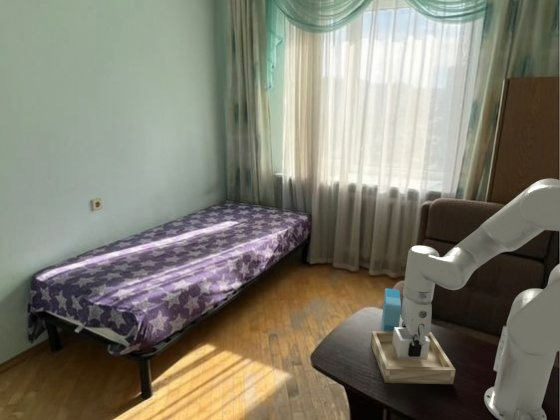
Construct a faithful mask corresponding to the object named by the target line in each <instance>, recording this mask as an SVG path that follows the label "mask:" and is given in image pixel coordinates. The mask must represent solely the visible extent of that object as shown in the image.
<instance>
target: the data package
mask: <svg viewBox="0 0 560 420" xmlns="http://www.w3.org/2000/svg"><path fill="white" fill-rule="evenodd" d="M401 308H402V302H401V292H400V289H395V288H386V287H385V289H384V297H383V307H382V315H381V317H382V319H381V322H382V323H381V325H382V327H381V328H382V329H381V330H382V331H394V327H400V322H401V321H400V320H401Z"/></svg>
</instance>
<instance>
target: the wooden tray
mask: <svg viewBox="0 0 560 420" xmlns="http://www.w3.org/2000/svg"><path fill="white" fill-rule="evenodd" d="M393 332H394V331H381V330H372V331H371V336H370V337H371V339H370V346H371V348H372V350H373V351H372V352H373V354H374V356H375V357H374V358H375V360H376V363H377V365H378V369H379V370H380V373H381V374H380V375H381V376H382V379H383V382H384V384H422V385H424V384H425V385H426V384H427V385H428V384H430V385H433V384H434V385H453V384H454V381H455V375H456V368H455V367H454V365H453V364H452V362H451V360H450V359H449V358H448V356H447V355H446V353H445V351H444V350H443V348H442V347H441V345H440V344H439V341H438V340H437V339H436V337H435V336H434V334H433V333H432V332H431V331H430V334H429V336H428V338H429V340H430V346H429V352H428V358H427V360H416V359H398V358H397V355H396V353H395V351H394V348H393V346H392V340H393Z"/></svg>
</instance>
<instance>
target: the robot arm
mask: <svg viewBox="0 0 560 420" xmlns="http://www.w3.org/2000/svg"><path fill="white" fill-rule="evenodd" d="M544 231H554V232H555V231H556V232H560V179H556V178H544V179H540V180H538V181H536V182H534V183H532V184H531V185H530V186H528V187H527V188H526V189H524V190H523V191H522V192H521V193H519V194H518V195H516V196H515V198H513V199H512V200H511V201H509V202H508V203H507V204H506V205H504V206H503V207H502V208H501V209H500V210H498V211H497V212H495V213H494V214H493V215H492V216H490V217H489V218H487V219H486V220H485V221H484V222H483V223H481V224H480V226H479V227H478V228H477V229H475V230H474V231H473V232H472V233H470V234H469V235H468V236H467V237H465V238H464V239H462V240H461V241H460V242H459V243H457V244H456V245H455V246H454V247H452V248H451V249H450V250H449V251H447V253H446V254H445V255H443V256H440V253H439V251H437V250H436V249H435V248H433V247H431V246H428V245H414V246H411V247H410V248H409V250H408V252H407V253H408V254H407V258H406V259H407V260H406V266H405V275H404V283H403V289H402V295H403V297H402V302H401V314H400V319H401V320H402V322H401V327H406V328H407V329H408V331H409V333H410V334H411V343H410V344H409V350H408V356H409V357H420V355H421V348H422V346H423V345H424V344H426V339H425V336H427V337H428V336H429V334H430V332H431V324H432V309H433V308H432V307H433V306H432V301H433V299H434V294H435V293H434V292H435V286H436V285H438V286H439V287H442V288H443V289H447V290H451V291H456V290H460V289H462V288H463V287H464V286H466V284H467V282H468V281H469V279H470V278H471V276H472V275H473V274H474V272H475V271H476V270H477V269H479V268H480V267H481V266H482V265H484V264H486V263H487V262H488V261H490V260H491V259H492V258H495V257H496V256H498V255H499V254H502V253H506V252H515V251H516V250H518V249H519V248H521V247H523V246H525V244H527V243H528V242H530V241H531V240H532V239H533V238H535V237H537V236H538V235H540V234H541V233H543V232H544ZM505 326H506V329H507V333H506V338H505V342H504V347H503V350H502V355H501V359H500V364H499V368H498V372H496V377H495V378H496V379H495V382H494V386H491V387H490V388H488V389H487V390H486V391H485V393H484V396H483V399H484V400H483V401H484V404H485V406H486V408H487V409H488V411H489V412H490V413H491V415H493V416H494V418H496V419H498V420H547V414H546V413H545V410H544V409H543V407H542V405H543V403H544V402H543V401H544V398H545V395H546V391H547V387H548V384H549V382H550V381H549V380H550V376H551V372H552V369H553V367H554V363H555V360H556V356H557V352H560V263H558V264H557V265H556V266H554V268H553V269H552V270H551V271H550V274H549V277H548V282H547V285H546V287H545V288H543V289H542V288H528V289H526V290H523V291H522V292H520V293H519V294H518V295H517V296H516V297H515V298H514V300H513V302H512V305H511V308H510V311H509V314H508V317H507V321H506V324H505ZM417 331H418V333H416V332H417ZM415 336H419V340H415Z"/></svg>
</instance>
